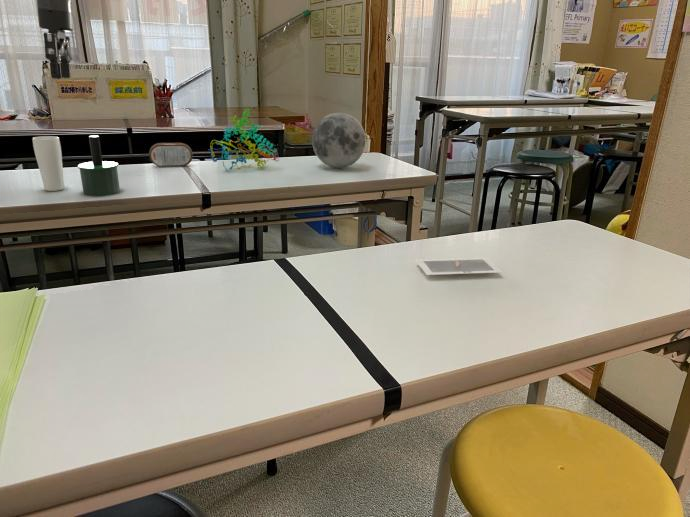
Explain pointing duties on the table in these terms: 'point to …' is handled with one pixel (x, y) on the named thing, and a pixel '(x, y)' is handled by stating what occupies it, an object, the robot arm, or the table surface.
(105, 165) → the tin lid
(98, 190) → the can
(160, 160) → the tin
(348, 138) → the moon model
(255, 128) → the molecular model
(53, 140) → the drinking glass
